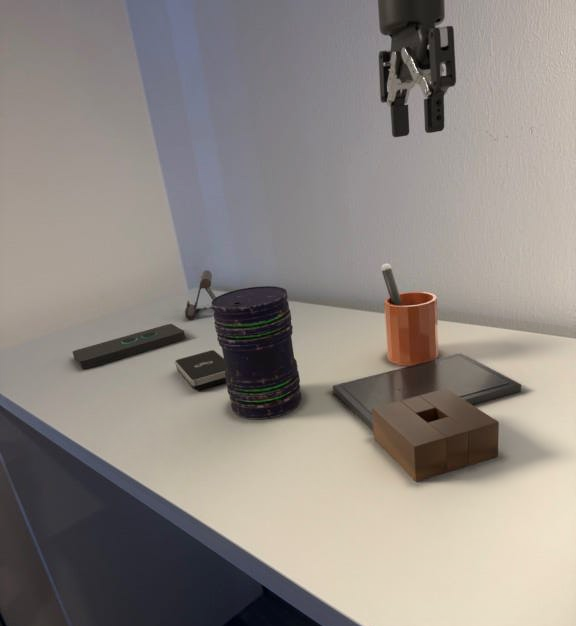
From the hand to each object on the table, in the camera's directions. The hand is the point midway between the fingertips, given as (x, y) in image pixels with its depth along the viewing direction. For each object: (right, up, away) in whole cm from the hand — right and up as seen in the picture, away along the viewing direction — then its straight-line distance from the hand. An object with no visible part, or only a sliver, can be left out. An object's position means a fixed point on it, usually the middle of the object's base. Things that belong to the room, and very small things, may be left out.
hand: (416, 134), depth 69 cm
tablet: (+1, -33, +2) cm, 33 cm away
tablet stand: (-35, -16, +52) cm, 65 cm away
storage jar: (-19, -34, +5) cm, 40 cm away
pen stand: (-1, -39, -11) cm, 40 cm away
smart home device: (-47, -25, +35) cm, 64 cm away
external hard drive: (-29, -31, +17) cm, 46 cm away
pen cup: (+3, -28, +13) cm, 31 cm away
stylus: (+2, -27, +13) cm, 30 cm away
